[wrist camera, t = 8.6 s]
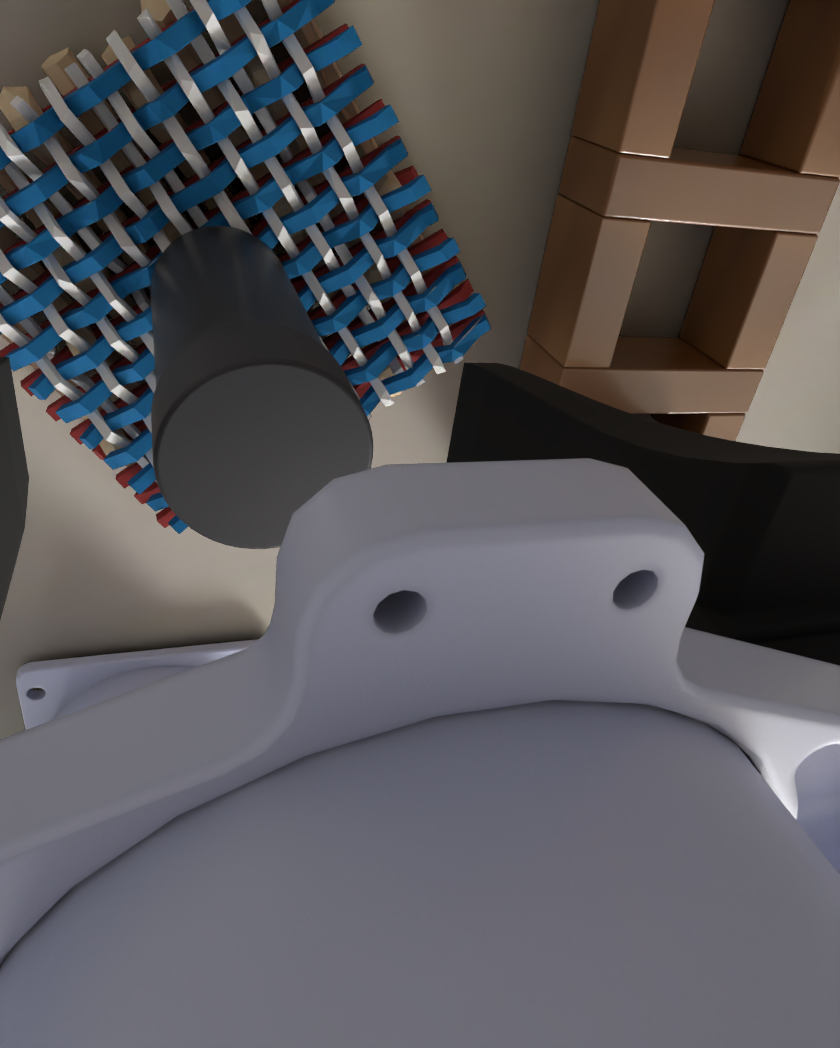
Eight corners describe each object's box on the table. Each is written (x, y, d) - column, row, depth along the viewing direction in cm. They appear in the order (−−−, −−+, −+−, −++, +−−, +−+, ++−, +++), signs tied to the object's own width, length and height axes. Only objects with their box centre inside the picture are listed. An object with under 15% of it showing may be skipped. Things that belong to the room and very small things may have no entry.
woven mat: (-156, 194, 16) (-188, 219, 14) (278, -104, 15) (295, -113, 14) (172, 522, 22) (175, 564, 21) (485, 323, 22) (513, 351, 20)
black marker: (290, 363, 18) (364, 544, 13) (150, 361, 17) (158, 557, 12) (297, 225, 17) (385, 361, 11) (141, 214, 16) (146, 357, 10)
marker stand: (652, 512, 28) (691, 553, 26) (484, 522, 26) (513, 567, 24) (861, -73, 19) (946, -78, 17) (627, -132, 17) (693, -145, 15)
